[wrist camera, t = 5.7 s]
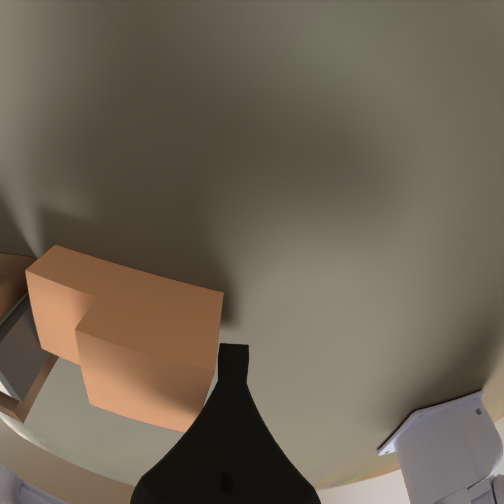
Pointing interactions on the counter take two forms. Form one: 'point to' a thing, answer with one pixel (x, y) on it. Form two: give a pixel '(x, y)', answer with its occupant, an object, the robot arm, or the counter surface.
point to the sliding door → (19, 349)
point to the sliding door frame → (3, 296)
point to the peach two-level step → (128, 334)
